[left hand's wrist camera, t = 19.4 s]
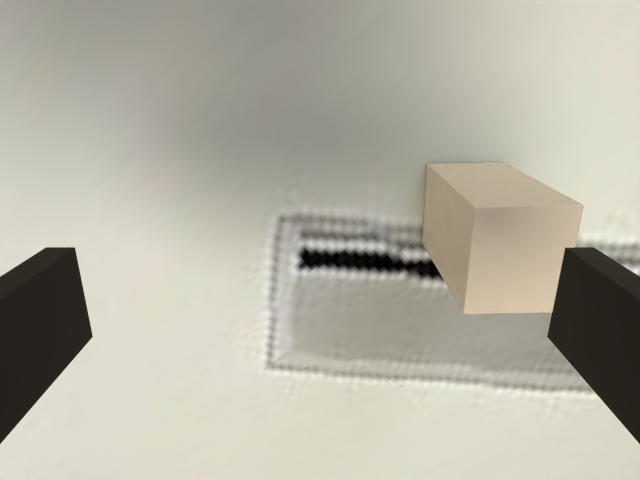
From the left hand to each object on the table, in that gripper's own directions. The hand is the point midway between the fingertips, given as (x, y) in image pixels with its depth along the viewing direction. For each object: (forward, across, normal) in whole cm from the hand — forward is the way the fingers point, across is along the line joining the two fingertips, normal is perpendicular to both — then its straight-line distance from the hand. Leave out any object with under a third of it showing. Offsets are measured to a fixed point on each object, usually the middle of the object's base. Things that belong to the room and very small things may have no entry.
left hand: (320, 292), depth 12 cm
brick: (+16, +9, -2) cm, 19 cm away
